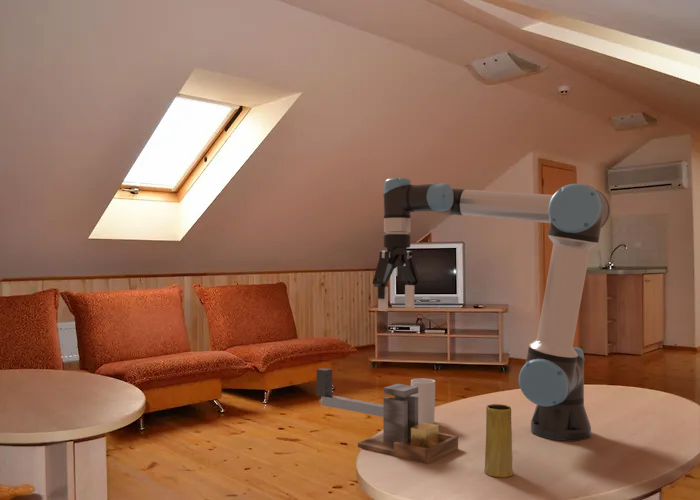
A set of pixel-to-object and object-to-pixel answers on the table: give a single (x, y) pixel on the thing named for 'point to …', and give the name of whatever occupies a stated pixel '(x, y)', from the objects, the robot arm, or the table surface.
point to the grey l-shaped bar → (340, 402)
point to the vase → (498, 441)
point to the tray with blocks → (405, 429)
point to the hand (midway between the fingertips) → (396, 309)
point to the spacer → (425, 435)
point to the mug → (425, 399)
